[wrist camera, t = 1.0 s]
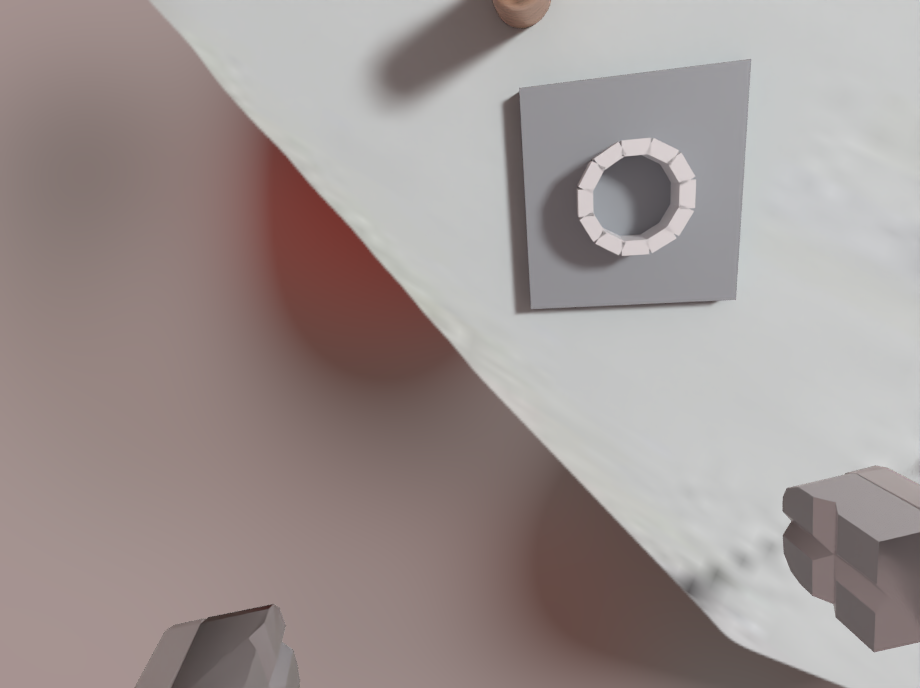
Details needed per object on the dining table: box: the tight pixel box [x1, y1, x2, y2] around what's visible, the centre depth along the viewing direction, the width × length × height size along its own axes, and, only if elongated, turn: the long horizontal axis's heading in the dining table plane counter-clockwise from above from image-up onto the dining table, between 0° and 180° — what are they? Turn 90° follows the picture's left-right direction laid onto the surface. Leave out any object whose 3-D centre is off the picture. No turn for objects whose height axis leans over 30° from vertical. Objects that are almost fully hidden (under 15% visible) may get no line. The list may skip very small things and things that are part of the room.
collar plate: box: [519, 59, 751, 309], centre depth 38 cm, size 16×15×4 cm
